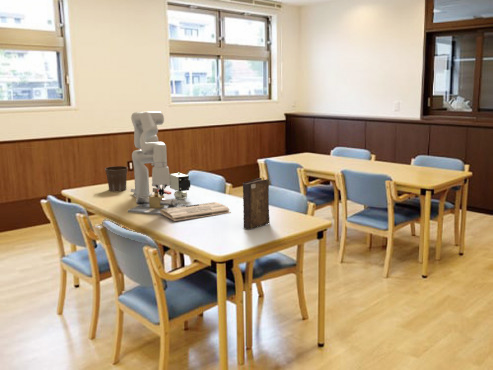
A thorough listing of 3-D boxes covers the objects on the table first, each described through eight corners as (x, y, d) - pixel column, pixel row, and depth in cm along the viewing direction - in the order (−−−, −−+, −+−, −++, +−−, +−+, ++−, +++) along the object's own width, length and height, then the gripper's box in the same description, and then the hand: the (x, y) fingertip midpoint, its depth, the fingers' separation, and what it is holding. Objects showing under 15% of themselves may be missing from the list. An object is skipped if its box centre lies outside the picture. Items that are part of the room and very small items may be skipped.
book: (248, 230, 251) (248, 183, 246) (239, 227, 256) (238, 181, 251) (270, 224, 262) (271, 178, 257) (261, 221, 267) (261, 177, 262)
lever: (151, 191, 294) (151, 188, 293) (157, 190, 297) (157, 187, 296) (166, 195, 282) (166, 192, 282) (173, 194, 285) (173, 191, 285)
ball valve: (192, 200, 319) (192, 173, 315) (181, 201, 314) (180, 174, 310) (179, 195, 333) (179, 169, 329) (168, 196, 328) (167, 171, 324)
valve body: (136, 206, 297) (135, 191, 295) (141, 204, 302) (140, 189, 300) (173, 209, 289) (172, 194, 287) (178, 207, 294) (177, 192, 292)
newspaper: (214, 205, 302) (214, 200, 302) (230, 212, 287) (231, 208, 286) (159, 212, 282) (159, 208, 281) (174, 221, 266) (174, 216, 266)
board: (126, 212, 288) (126, 210, 288) (148, 203, 311) (148, 200, 311) (166, 216, 280) (165, 213, 279) (185, 206, 303) (185, 203, 302)
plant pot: (125, 192, 343) (124, 169, 340) (103, 192, 343) (101, 169, 340) (131, 187, 359) (130, 166, 356) (109, 187, 359) (108, 166, 356)
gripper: (147, 166, 276) (148, 197, 280) (173, 165, 279) (174, 196, 283) (147, 164, 283) (148, 194, 287) (172, 163, 286) (173, 193, 290)
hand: (161, 195), depth 285 cm, fingers closed
